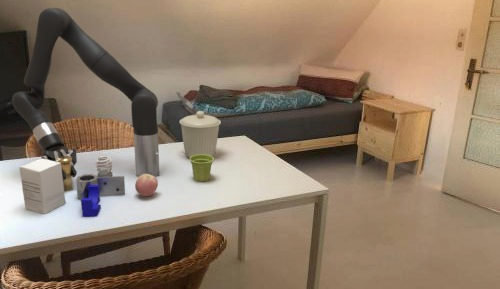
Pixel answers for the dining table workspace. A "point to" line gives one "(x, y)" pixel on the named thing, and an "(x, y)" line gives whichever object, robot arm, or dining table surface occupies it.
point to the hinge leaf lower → (83, 192)
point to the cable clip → (91, 202)
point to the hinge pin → (66, 172)
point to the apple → (146, 184)
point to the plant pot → (201, 166)
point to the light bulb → (104, 166)
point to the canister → (200, 134)
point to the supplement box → (42, 185)
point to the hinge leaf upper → (103, 184)
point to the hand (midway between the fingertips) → (69, 177)
